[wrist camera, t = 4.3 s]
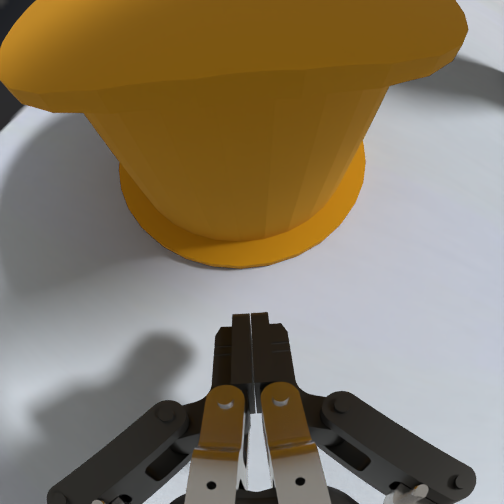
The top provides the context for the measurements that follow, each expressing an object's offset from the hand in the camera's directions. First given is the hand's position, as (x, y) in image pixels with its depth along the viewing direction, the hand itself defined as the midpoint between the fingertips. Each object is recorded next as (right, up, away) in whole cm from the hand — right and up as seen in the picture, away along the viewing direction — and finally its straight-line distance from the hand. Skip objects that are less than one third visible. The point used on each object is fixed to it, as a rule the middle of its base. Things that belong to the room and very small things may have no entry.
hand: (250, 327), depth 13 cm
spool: (-1, +11, +8) cm, 14 cm away
